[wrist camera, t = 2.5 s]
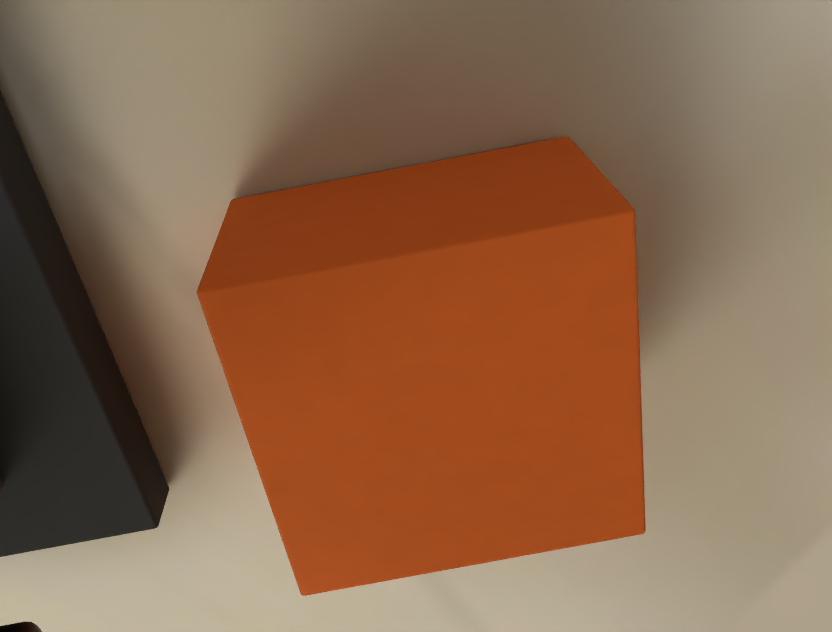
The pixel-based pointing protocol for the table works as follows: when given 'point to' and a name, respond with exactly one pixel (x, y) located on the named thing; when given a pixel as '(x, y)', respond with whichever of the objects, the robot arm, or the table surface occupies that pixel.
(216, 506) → the table surface
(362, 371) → the orange block
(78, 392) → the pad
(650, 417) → the table surface
